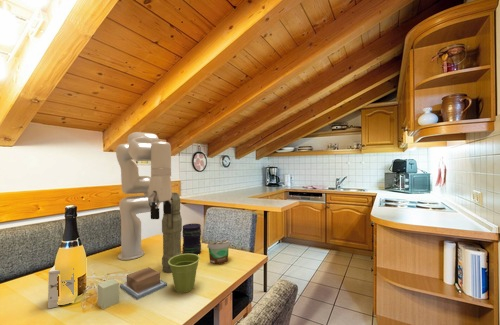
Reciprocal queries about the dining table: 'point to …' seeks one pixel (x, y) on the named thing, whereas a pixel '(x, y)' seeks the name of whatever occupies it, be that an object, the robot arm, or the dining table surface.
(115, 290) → the sage pillar block
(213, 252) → the food container
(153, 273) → the walnut plinth
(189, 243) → the storage jar
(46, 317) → the dining table surface
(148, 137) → the robot arm
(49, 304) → the supplement box
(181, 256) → the plant pot
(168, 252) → the thermos
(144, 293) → the blueprint mat
